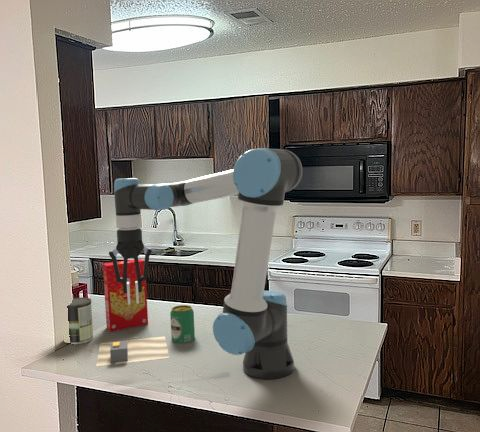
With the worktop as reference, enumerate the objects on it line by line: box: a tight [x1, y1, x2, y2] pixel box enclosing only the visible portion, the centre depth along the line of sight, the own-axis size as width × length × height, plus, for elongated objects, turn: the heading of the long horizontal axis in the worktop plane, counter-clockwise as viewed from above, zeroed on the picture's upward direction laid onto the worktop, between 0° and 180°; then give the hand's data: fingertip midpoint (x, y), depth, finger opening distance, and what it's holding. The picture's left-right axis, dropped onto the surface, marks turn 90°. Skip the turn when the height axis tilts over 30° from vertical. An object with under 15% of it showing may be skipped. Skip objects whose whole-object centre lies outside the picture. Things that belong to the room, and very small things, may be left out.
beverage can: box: [170, 304, 196, 344], centre depth 166 cm, size 8×8×12 cm
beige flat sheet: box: [95, 336, 170, 368], centre depth 157 cm, size 20×22×1 cm
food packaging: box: [102, 258, 149, 332], centre depth 185 cm, size 15×5×25 cm, turn 120°
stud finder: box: [110, 340, 128, 363], centre depth 151 cm, size 7×5×5 cm
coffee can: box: [67, 297, 94, 345], centre depth 172 cm, size 10×10×14 cm
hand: (133, 302), depth 151 cm, fingers open, 2 cm apart
